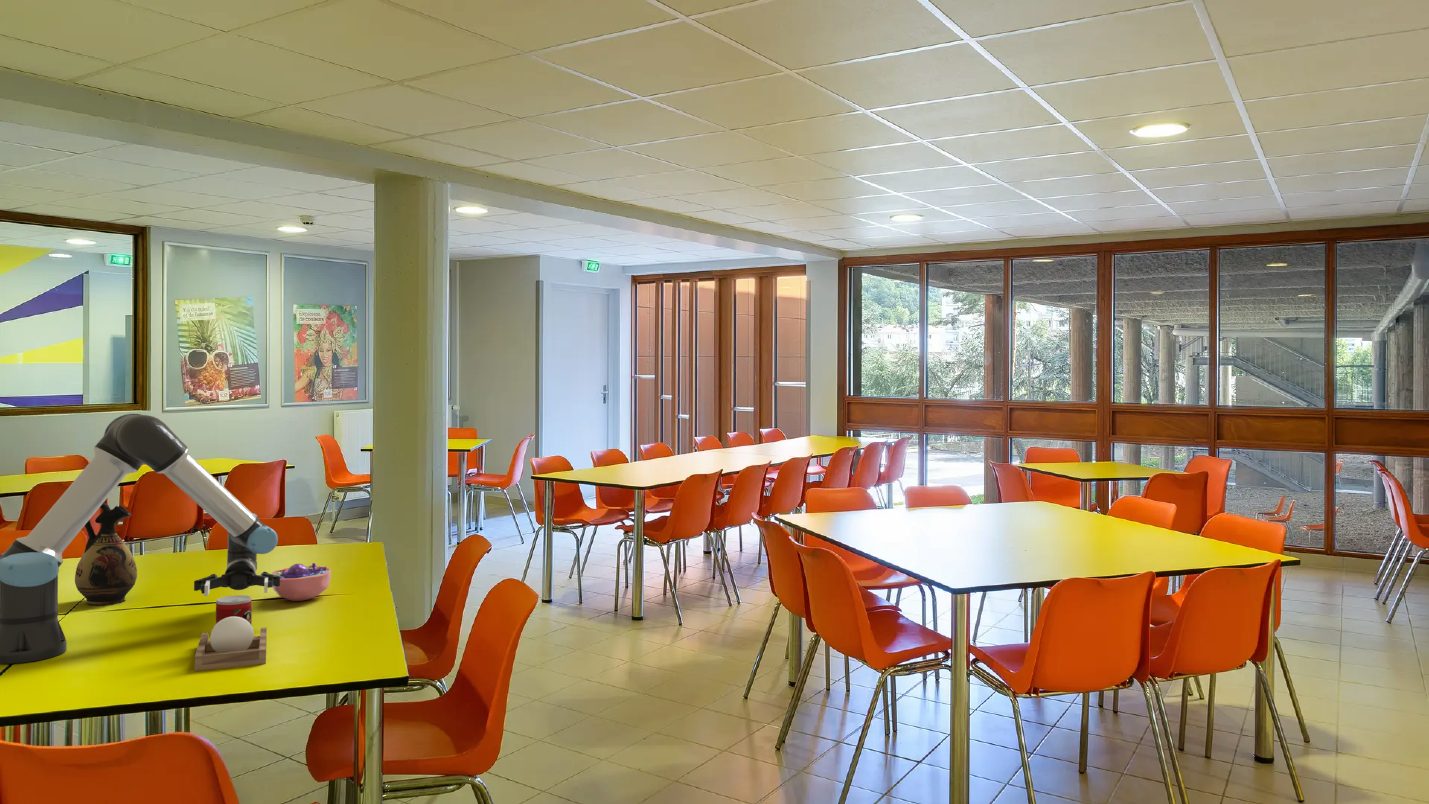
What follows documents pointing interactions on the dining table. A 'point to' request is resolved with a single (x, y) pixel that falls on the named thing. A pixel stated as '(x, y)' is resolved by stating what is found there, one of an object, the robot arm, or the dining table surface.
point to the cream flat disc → (231, 635)
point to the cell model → (302, 581)
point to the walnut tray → (230, 654)
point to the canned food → (234, 607)
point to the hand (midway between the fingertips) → (236, 589)
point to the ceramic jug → (106, 561)
